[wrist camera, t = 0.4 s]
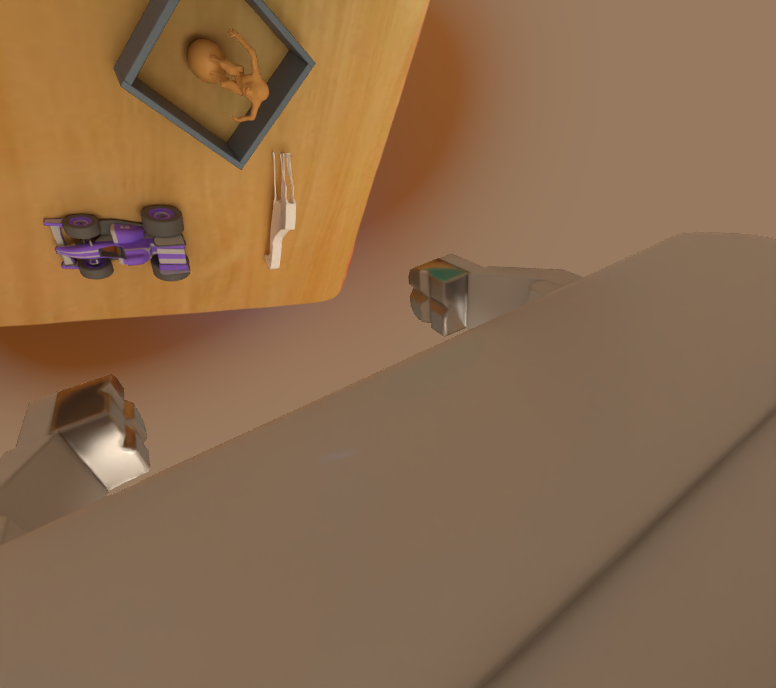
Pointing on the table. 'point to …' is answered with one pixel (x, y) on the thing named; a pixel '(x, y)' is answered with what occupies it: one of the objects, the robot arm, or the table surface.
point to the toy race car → (124, 243)
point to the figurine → (214, 66)
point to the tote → (233, 151)
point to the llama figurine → (281, 216)
